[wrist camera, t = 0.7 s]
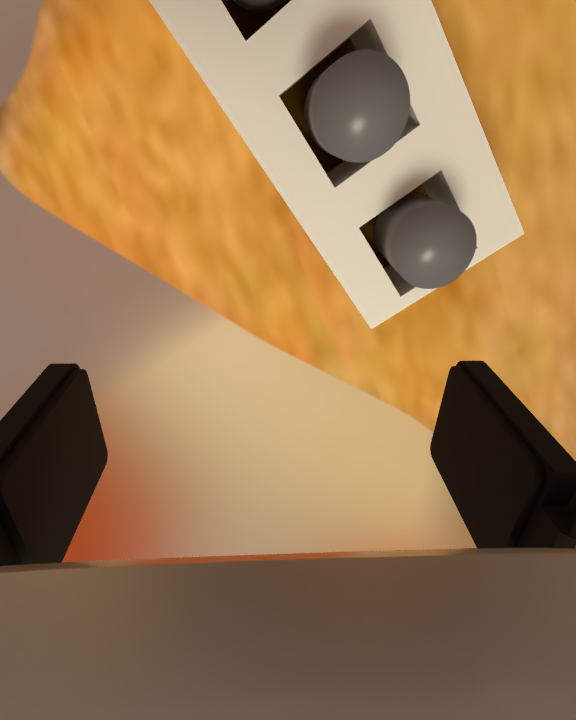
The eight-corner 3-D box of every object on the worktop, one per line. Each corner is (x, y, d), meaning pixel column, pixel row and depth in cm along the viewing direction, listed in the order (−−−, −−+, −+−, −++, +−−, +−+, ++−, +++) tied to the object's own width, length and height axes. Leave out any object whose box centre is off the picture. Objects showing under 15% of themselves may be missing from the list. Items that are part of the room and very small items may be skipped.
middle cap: (357, 42, 24) (381, 23, 20) (397, 122, 27) (426, 122, 22) (288, 100, 26) (294, 95, 21) (331, 171, 28) (345, 182, 23)
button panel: (301, -197, 22) (314, -295, 17) (483, 216, 33) (524, 233, 28) (137, -26, 25) (105, -65, 20) (355, 299, 36) (371, 329, 31)
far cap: (424, 177, 28) (456, 188, 24) (453, 237, 31) (488, 258, 26) (361, 221, 30) (380, 241, 25) (393, 276, 32) (417, 303, 27)
